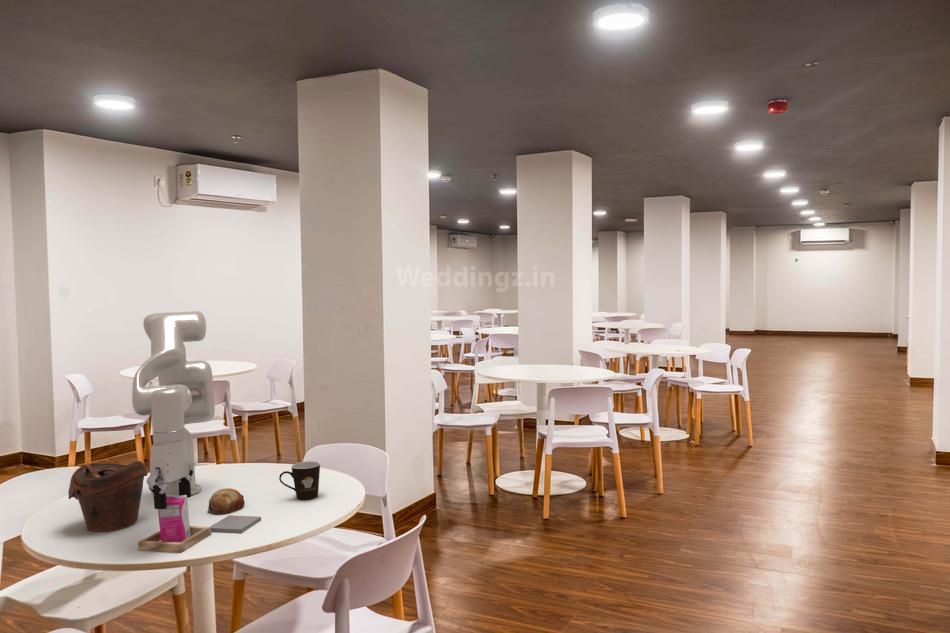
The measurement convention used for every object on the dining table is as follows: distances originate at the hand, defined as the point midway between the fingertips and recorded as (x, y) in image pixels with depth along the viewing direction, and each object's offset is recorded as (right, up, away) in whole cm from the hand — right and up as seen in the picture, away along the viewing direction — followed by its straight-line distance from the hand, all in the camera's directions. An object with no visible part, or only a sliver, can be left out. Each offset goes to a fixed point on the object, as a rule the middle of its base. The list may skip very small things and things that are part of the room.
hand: (173, 502), depth 179 cm
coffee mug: (+25, -8, +35) cm, 44 cm away
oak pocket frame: (0, -10, +1) cm, 10 cm away
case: (-25, -11, +17) cm, 32 cm away
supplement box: (0, -11, +1) cm, 11 cm away
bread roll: (+4, -9, +27) cm, 29 cm away
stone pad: (+12, -9, +12) cm, 19 cm away
